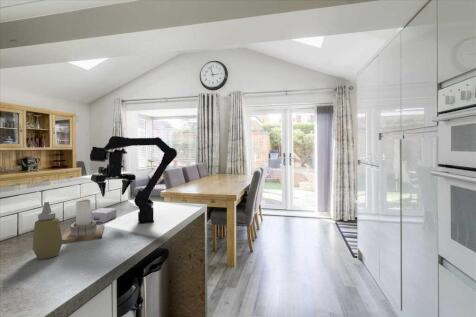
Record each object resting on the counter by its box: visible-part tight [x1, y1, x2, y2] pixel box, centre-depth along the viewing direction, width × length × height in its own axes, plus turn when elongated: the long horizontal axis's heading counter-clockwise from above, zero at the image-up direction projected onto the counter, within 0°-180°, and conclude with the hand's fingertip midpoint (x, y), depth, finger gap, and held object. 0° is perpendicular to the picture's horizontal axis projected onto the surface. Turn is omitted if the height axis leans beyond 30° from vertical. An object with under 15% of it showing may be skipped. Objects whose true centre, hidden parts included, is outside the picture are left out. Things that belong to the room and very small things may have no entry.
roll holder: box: [61, 220, 105, 244], centre depth 104 cm, size 14×14×5 cm
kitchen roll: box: [75, 198, 92, 226], centre depth 104 cm, size 5×5×13 cm
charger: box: [91, 207, 118, 223], centre depth 129 cm, size 5×9×15 cm
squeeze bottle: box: [32, 201, 63, 260], centre depth 84 cm, size 8×8×18 cm
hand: (113, 195), depth 120 cm, fingers open, 9 cm apart
